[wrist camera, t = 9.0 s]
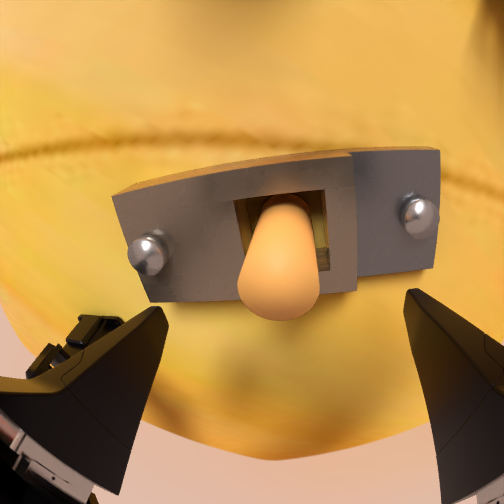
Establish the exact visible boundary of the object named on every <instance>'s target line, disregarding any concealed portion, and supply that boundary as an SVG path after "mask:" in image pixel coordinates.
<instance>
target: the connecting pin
mask: <svg viewBox="0 0 504 504" xmlns="http://www.w3.org/2000/svg"><path fill="white" fill-rule="evenodd" d="M237 286H238V293H239V296H240V298H241V300H242V302H243V303H244V305H245V306H246V307H247V308H248V309H249V310H250V311H252V312H253V313H254V314H256V315H258V316H260V317H263V318H265V319H269V320H276V321H285V320H291V319H294V318H297V317H300V316H302V315H303V314H305V313H306V312H308V311H309V310H310V309H311V308H312V307H313V306H314V304H315V303H316V301H317V299H318V296H319V291H320V285H319V276H318V267H317V259H316V251H315V243H314V236H313V229H312V222H311V215H310V211H309V208H308V206H307V205H306V203H305V202H304V201H303V200H302V199H301V198H299V197H297V196H295V195H292V194H278V195H275V196H273V197H272V198H270V199H269V200H268V201H267V202H266V203H265V204H264V206H263V208H262V211H261V214H260V217H259V220H258V223H257V225H256V228H255V231H254V234H253V237H252V240H251V243H250V246H249V249H248V252H247V254H246V257H245V260H244V263H243V266H242V269H241V272H240V275H239V278H238V283H237Z"/></svg>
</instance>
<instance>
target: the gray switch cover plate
mask: <svg viewBox="0 0 504 504" xmlns="http://www.w3.org/2000/svg"><path fill="white" fill-rule="evenodd" d="M211 167H213V166H211ZM211 167H206V168H201V169H196V170H191V171H187V172H182V173H177V174H173V175H168V176H164V177H160V178H156V179H152V180H148V181H144V182H140V183H136V184H133V185H132V186H130V187H128V188H126V189H124V190H122V191H120V192H118V193H116V194H115V195H113V196H111V197H112V200H113V203H114V206H115V210H116V213H117V216H118V219H119V222H120V225H121V228H122V231H123V234H124V237H125V240H126V242H127V245H128V259H129V261H130V263H131V265H132V266H133V268H134V269H135V270H137V272H138V274H139V277H140V279H141V282H142V284H143V287H144V289H145V291H146V294H147V296H148V299H149V301H150V303H158V302H200V301H225V300H241V298H240V296H239V293H238V286H237V283H238V278H239V275H240V272H241V269H242V266H243V263H244V260H245V257H246V254H247V252H248V249H249V244H248V239H247V234H246V229H245V224H244V219H243V214H242V209H241V204H240V199H244V198H251V197H259V196H267V195H275V194H284V193H293V192H302V191H312V190H322V189H323V199H324V209H325V221H326V234H327V250H328V258H326V259H317V267H318V276H319V285H320V291H319V294H328V293H339V292H349V291H357V216H356V195H355V180H354V168H353V157H352V155H350V154H349V153H347V152H344V153H331V154H320V155H310V156H300V157H292V158H283V159H276V160H268V161H261V162H254V163H248V164H241V165H235V166H229V167H224V168H218V169H213V170H208V169H210V168H211Z"/></svg>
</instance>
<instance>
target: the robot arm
mask: <svg viewBox="0 0 504 504" xmlns="http://www.w3.org/2000/svg"><path fill="white" fill-rule="evenodd" d="M403 312H404V318H405V322H406V327H407V332H408V336H409V341H410V346H411V351H412V355H413V358H414V361H415V365H416V368H417V371H418V375H419V378H420V382H421V386H422V390H423V394H424V398H425V402H426V406H427V410H428V414H429V419H430V424H431V429H432V434H433V439H434V445H435V451H436V458H437V465H438V472H439V481H440V491H441V503H442V504H455V503H457V502H460V501H462V500H465V499H467V498H469V497H472V496H474V495H477V504H504V346H503V345H501V344H500V343H499V342H497V341H496V340H494V339H493V338H491V337H490V336H489V335H487V334H485V333H484V332H483V331H481V330H480V329H479V328H477V327H476V326H474V325H473V324H471V323H470V322H469V321H467V320H466V319H464V318H463V317H461V316H460V315H458V314H457V313H455V312H454V311H452V310H451V309H449V308H448V307H446V306H445V305H443V304H442V303H440V302H439V301H437V300H436V299H434V298H433V297H431V296H429V295H428V294H426V293H425V292H423V291H422V290H420V289H418V288H415V289H408V290H407V292H406V297H405V303H404V309H403ZM78 320H79V323H78V324H77V325H76V327H75V328H74V329H73V330H72V331H71V333H70V334H69V335H68V336H67V338H66V342H67V343H66V345H65V346H64V347H63V349H62V346H61V345H60V344H59V343H58V344H57V345H56V346H54V345H52V344H50V343H48V345H47V346H46V347H45V348H44V350H43V351H42V352H41V353H40V355H39V356H38V357H37V358H36V360H35V361H34V362H33V363H32V365H31V366H30V367H29V369H28V370H27V371H26V379H16V378H9V377H1V376H0V504H99V503H98V501H97V498H96V496H95V494H94V493H92V492H91V491H92V489H93V486H94V485H96V486H98V487H100V488H102V489H104V490H107V491H109V492H111V493H113V494H115V495H119V493H120V489H121V486H122V482H123V478H124V475H125V471H126V467H127V464H128V460H129V457H130V453H131V450H132V446H133V443H134V440H135V436H136V433H137V430H138V427H139V424H140V420H141V417H142V414H143V411H144V408H145V405H146V402H147V399H148V396H149V393H150V390H151V387H152V384H153V381H154V378H155V375H156V372H157V369H158V367H159V364H160V361H161V357H162V353H163V349H164V345H165V340H166V336H167V332H168V328H169V324H168V321H167V319H166V316H165V314H164V312H163V309H162V308H161V307H160V306H151V307H149V308H147V309H146V310H144V311H143V312H141V313H139V314H138V315H136V316H135V317H133V318H132V319H130V320H129V321H127V322H125V323H124V324H123V322H122V320H121V319H120V318H119V317H114V316H95V315H80V316H79V317H78ZM50 363H51V364H52V365H53V366H54V368H52V367H51V366H50Z"/></svg>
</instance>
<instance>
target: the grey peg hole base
mask: <svg viewBox="0 0 504 504" xmlns="http://www.w3.org/2000/svg"><path fill="white" fill-rule="evenodd" d="M344 152H347V153H349V154H350V155H352V157H353V168H354V180H355V195H356V216H357V277H362V276H372V275H381V274H390V273H398V272H407V271H415V270H423V269H430V268H433V264H434V258H435V250H436V242H437V233H438V224H439V220H440V216H439V207H440V150H438V149H435V148H432V147H374V148H355V149H340V150H327V151H316V152H307V153H297V154H289V155H281V156H273V157H266V158H259V159H252V160H246V161H240V162H234V163H228V164H222V165H217V166H213V167H211V168H210V169H208V170H213V169H218V168H224V167H229V166H235V165H241V164H248V163H254V162H261V161H268V160H276V159H283V158H292V157H300V156H310V155H320V154H331V153H344ZM321 195H322V206H323V217H324V229H325V243H326V248H316V249H315V251H316V259H326V258H328V250H327V234H326V221H325V209H324V199H323V189H322V190H321ZM240 204H241V209H242V214H243V219H244V224H245V229H246V234H247V239H248V244H249V246H250V243H251V240H252V232H251V227H250V222H249V217H248V211H247V206H246V201H245V198H244V199H240Z"/></svg>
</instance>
